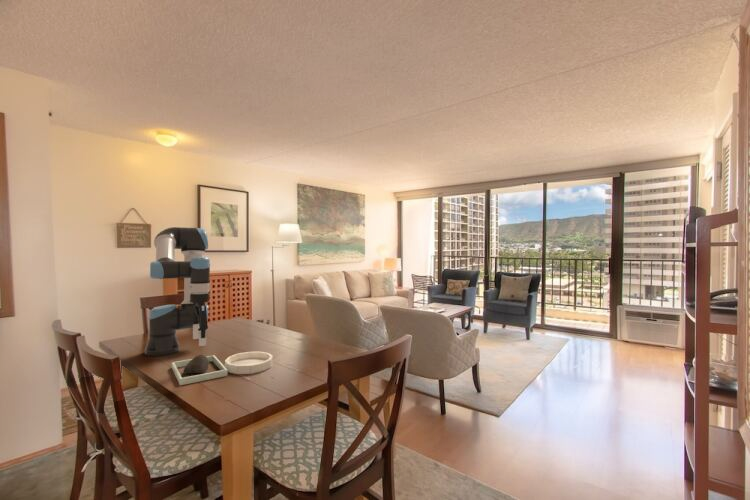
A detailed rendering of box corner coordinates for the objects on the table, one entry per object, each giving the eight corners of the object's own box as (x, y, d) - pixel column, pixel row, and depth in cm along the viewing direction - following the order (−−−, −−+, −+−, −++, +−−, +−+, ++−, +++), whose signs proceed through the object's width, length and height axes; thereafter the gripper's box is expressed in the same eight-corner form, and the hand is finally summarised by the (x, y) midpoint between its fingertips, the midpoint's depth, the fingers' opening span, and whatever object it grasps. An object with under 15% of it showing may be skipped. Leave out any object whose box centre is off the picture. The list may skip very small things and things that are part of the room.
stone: (188, 386, 142) (206, 369, 143) (175, 370, 143) (194, 353, 144) (201, 380, 152) (218, 364, 153) (189, 366, 153) (206, 350, 154)
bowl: (220, 363, 159) (220, 356, 158) (263, 356, 171) (263, 349, 171) (232, 377, 143) (232, 369, 143) (278, 367, 155) (278, 360, 155)
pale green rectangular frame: (171, 367, 153) (171, 362, 152) (214, 360, 163) (214, 355, 163) (179, 385, 134) (180, 378, 134) (227, 375, 144) (227, 369, 144)
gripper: (185, 290, 156) (184, 337, 156) (195, 296, 136) (195, 350, 136) (203, 289, 160) (202, 335, 160) (216, 295, 141) (215, 347, 140)
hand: (199, 342), depth 148 cm, fingers open, 13 cm apart
